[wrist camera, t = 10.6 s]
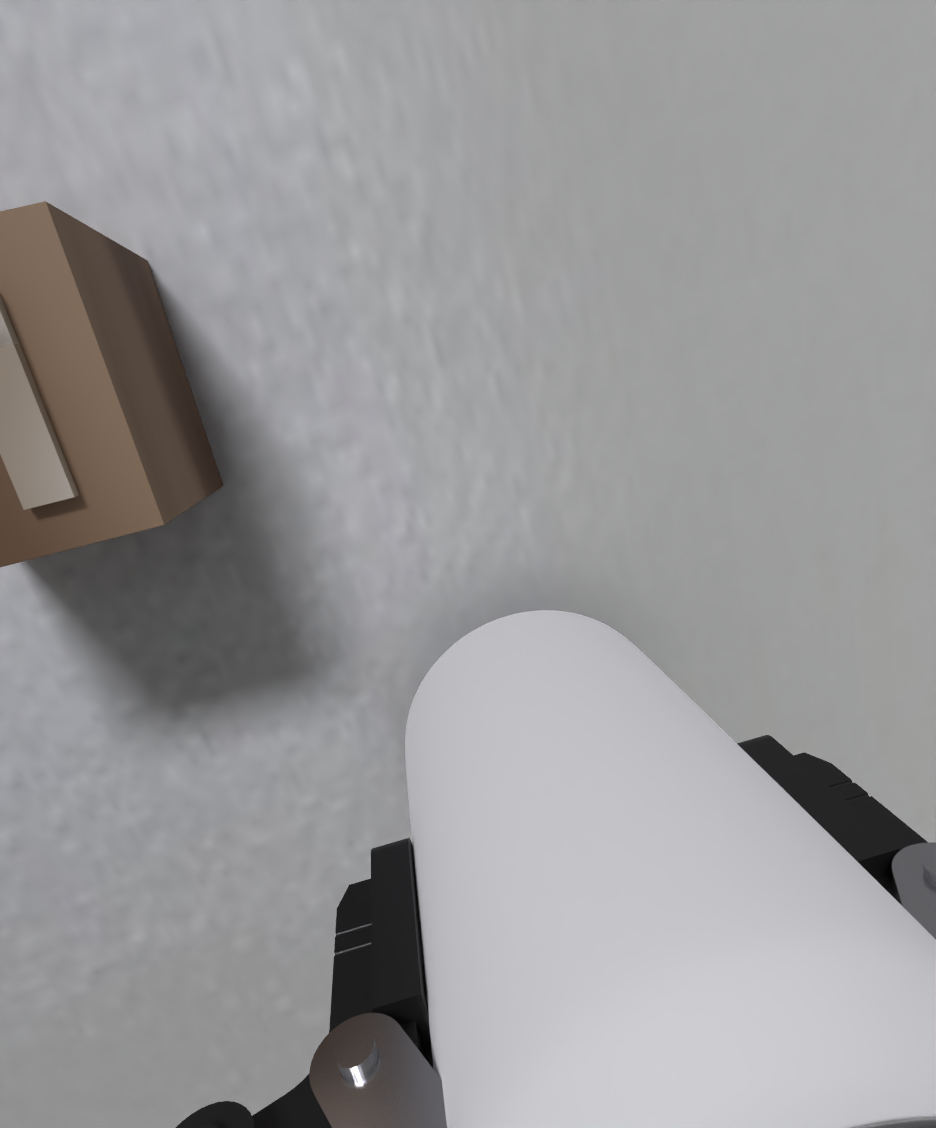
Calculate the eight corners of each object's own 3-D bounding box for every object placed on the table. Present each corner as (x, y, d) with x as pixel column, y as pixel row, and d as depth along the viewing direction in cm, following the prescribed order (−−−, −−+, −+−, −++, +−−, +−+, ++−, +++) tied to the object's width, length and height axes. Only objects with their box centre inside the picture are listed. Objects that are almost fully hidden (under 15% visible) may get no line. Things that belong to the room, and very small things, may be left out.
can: (687, 782, 18) (1217, 1447, 7) (458, 879, 18) (612, 1732, 7) (615, 562, 17) (1167, 958, 5) (360, 666, 16) (338, 1325, 5)
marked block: (148, 261, 15) (39, 198, 10) (224, 485, 16) (161, 527, 11) (-89, 315, 15) (-322, 277, 10) (8, 540, 16) (-155, 608, 11)
